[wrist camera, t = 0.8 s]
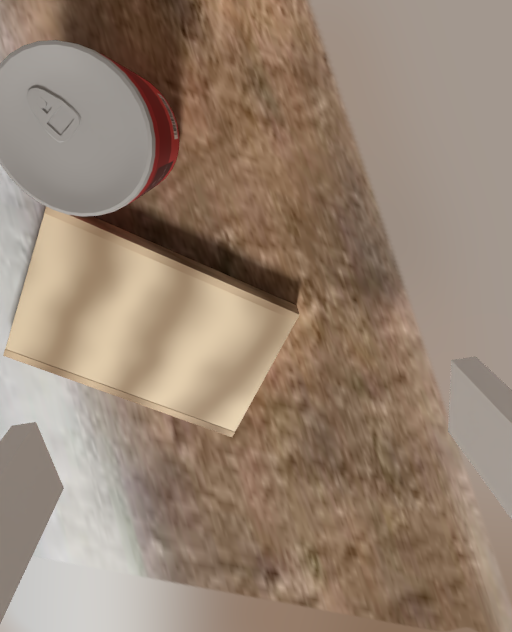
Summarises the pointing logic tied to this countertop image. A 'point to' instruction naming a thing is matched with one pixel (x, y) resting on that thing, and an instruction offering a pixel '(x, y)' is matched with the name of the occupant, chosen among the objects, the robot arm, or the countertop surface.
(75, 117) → the canned food
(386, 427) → the countertop surface
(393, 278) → the countertop surface
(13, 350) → the cutting board
